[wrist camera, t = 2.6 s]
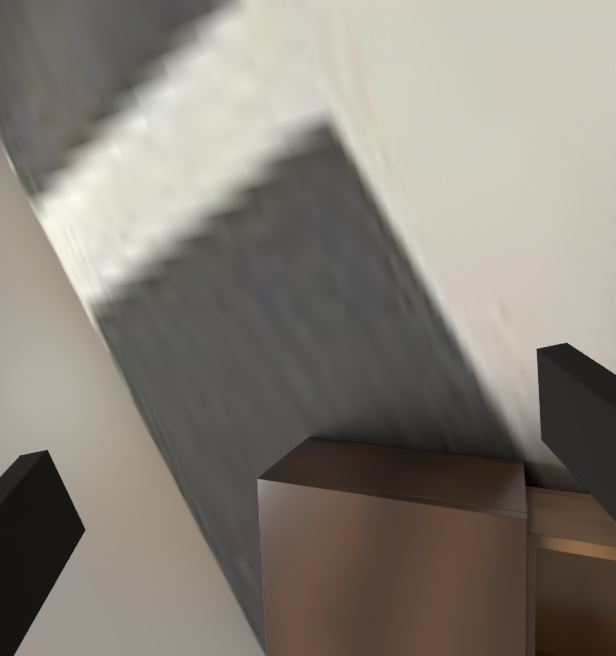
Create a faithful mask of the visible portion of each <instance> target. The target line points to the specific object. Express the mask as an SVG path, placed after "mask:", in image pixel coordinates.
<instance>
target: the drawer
mask: <svg viewBox="0 0 616 656" xmlns="http://www.w3.org/2000/svg"><path fill="white" fill-rule="evenodd" d="M525 489H526V503H527V518H528V542H527V653H526V656H616V522H615V521H614V520H613V519H612V517H611V516H610V515H609V514H608V513H607V512H606V511H605V510H604V509H603V507H602V506H601V505H600V504H599V503H598V502H597V501H596V500H595V499H594V497H593V496H592V495H591V494H584V493H576V492H568V491H560V490H552V489H545V488H537V487H529V486H525Z"/></svg>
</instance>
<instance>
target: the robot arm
mask: <svg viewBox="0 0 616 656" xmlns="http://www.w3.org/2000/svg"><path fill="white" fill-rule="evenodd" d="M537 364H538V383H539V402H540V421H541V440H542V441H543V442H544V443H545V444H546V445H547V446H548V447H549V449H550V450H551V451H552V452H553V453H554V454H555V455H556V456H557V457H558V459H559V460H560V461H561V462H562V463H563V464H564V465H565V466H566V467H567V469H568V470H569V471H570V472H571V473H572V474H573V475H574V476H575V477H576V479H577V480H578V481H579V482H580V483H581V484H582V485H583V486H584V487H585V489H586V490H587V491H588V492H589V493H590V494H591V495H592V496H593V497H594V499H595V500H596V501H597V502H598V503H599V504H600V505H601V506H602V507H603V509H604V510H605V511H606V512H607V513H608V514H609V515H610V516H611V517H612V519H613V520H614V521H615V522H616V375H615V374H614V373H612V372H611V371H609V370H608V369H606V368H605V367H603V366H601V365H600V364H598V363H597V362H595V361H594V360H592V359H591V358H589V357H588V356H586V355H585V354H583V353H582V352H580V351H579V350H577V349H575V348H574V347H572V346H571V345H569V344H568V343H563V344H558V345H553V346H549V347H544V348H539V349H537ZM84 532H85V528H84V526H83V524H82V521H81V519H80V517H79V515H78V513H77V511H76V509H75V507H74V505H73V502H72V500H71V498H70V496H69V494H68V492H67V490H66V488H65V486H64V484H63V481H62V479H61V477H60V475H59V473H58V471H57V469H56V467H55V465H54V462H53V460H52V458H51V456H50V454H49V452H48V450H45V451H40V452H35V453H30V454H25V455H20V456H19V458H18V459H17V460H16V461H15V462H14V463H13V464H12V465H11V466H10V467H9V468H8V469H7V470H6V471H5V473H4V474H3V475H2V476H1V477H0V656H14V654H15V653H16V651H17V649H18V647H19V646H20V644H21V642H22V640H23V639H24V636H25V635H26V633H27V632H28V630H29V628H30V626H31V624H32V623H33V621H34V619H35V617H36V616H37V614H38V612H39V610H40V609H41V607H42V605H43V603H44V602H45V600H46V598H47V596H48V594H49V593H50V591H51V589H52V588H53V586H54V584H55V582H56V581H57V579H58V577H59V575H60V574H61V572H62V570H63V568H64V567H65V565H66V563H67V561H68V560H69V558H70V556H71V554H72V553H73V551H74V549H75V547H76V546H77V544H78V542H79V540H80V539H81V537H82V535H83V533H84Z"/></svg>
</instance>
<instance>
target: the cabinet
mask: <svg viewBox="0 0 616 656" xmlns="http://www.w3.org/2000/svg"><path fill="white" fill-rule="evenodd" d="M257 484H258V503H259V522H260V542H261V561H262V580H263V599H264V618H265V637H266V656H526V653H527V542H528V518H527V503H526V489H525V475H524V462H523V461H519V460H510V459H501V458H491V457H482V456H473V455H464V454H454V453H445V452H436V451H426V450H417V449H408V448H399V447H389V446H380V445H371V444H361V443H352V442H343V441H334V440H324V439H315V438H307V439H305V440H304V441H303V442H302V443H300V444H299V445H298V446H297V447H295V448H294V449H293V450H292V451H290V452H289V453H288V454H287V455H286V456H284V457H283V458H282V459H281V460H279V461H278V462H277V463H276V464H274V465H273V466H272V467H271V468H270V469H268V470H267V471H266V472H265V473H263V474H262V475H261V476H260V477H259V478H257Z"/></svg>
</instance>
